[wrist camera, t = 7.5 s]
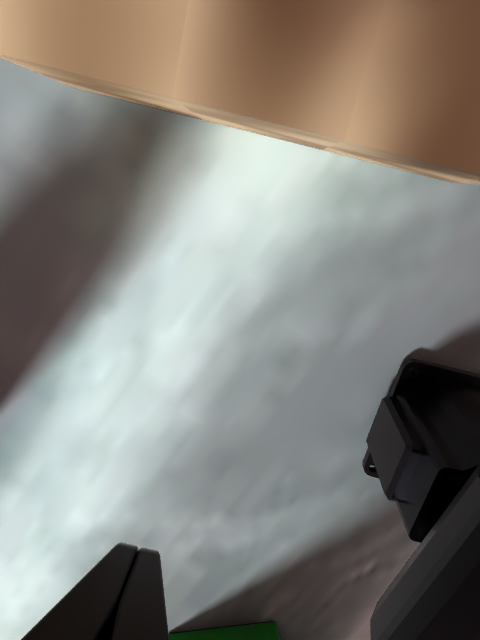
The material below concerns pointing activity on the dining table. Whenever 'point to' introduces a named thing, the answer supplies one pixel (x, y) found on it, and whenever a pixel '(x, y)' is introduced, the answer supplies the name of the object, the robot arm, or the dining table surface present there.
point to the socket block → (278, 69)
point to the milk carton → (232, 633)
